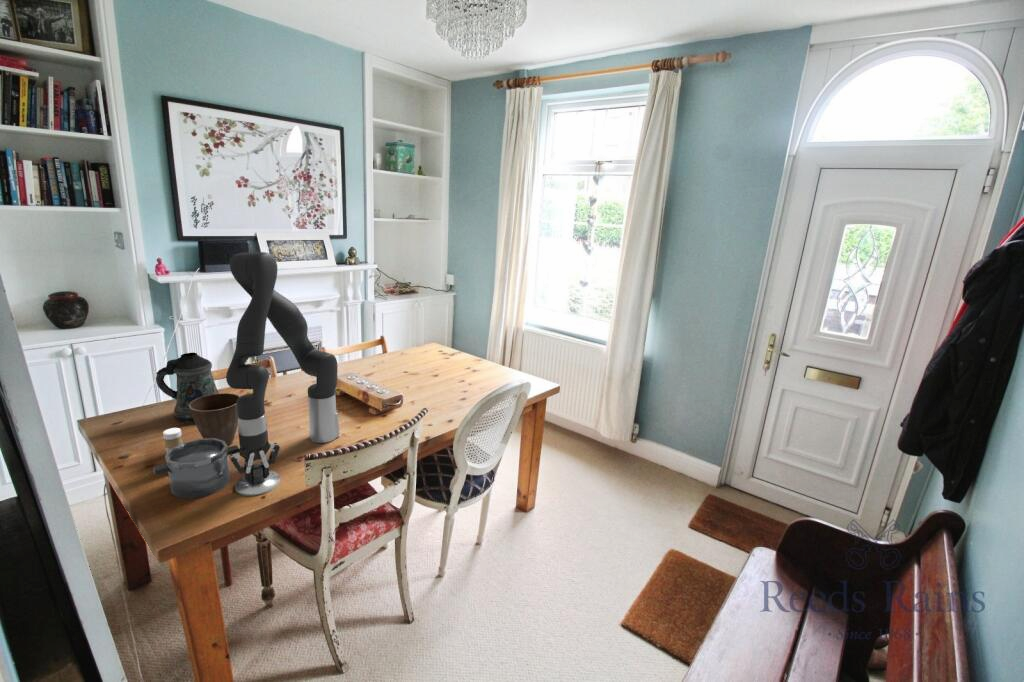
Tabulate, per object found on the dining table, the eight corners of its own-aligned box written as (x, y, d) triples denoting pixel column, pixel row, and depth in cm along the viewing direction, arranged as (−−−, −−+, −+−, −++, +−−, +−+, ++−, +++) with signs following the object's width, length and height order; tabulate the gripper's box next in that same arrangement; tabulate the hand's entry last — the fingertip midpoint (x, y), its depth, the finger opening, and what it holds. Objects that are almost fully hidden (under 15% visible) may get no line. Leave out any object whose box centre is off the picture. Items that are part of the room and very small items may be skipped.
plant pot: (183, 451, 159) (177, 407, 154) (216, 431, 173) (211, 390, 168) (224, 457, 157) (219, 413, 152) (254, 436, 171) (250, 395, 167)
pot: (234, 461, 155) (230, 431, 151) (247, 482, 144) (243, 450, 141) (154, 484, 140) (148, 450, 137) (162, 509, 130) (156, 473, 127)
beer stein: (233, 414, 186) (226, 354, 179) (178, 431, 171) (168, 366, 164) (212, 402, 195) (205, 344, 188) (158, 417, 179) (148, 355, 172)
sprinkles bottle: (184, 463, 152) (178, 425, 148) (188, 469, 149) (182, 431, 145) (167, 468, 148) (160, 430, 145) (170, 474, 145) (164, 435, 142)
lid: (274, 469, 152) (272, 452, 150) (284, 487, 143) (283, 469, 142) (231, 481, 145) (229, 463, 143) (240, 500, 136) (238, 482, 134)
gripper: (274, 418, 146) (278, 466, 151) (222, 430, 137) (228, 482, 141) (282, 427, 141) (286, 477, 146) (229, 440, 131) (234, 493, 136)
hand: (257, 479), depth 144 cm, fingers closed on lid, 3 cm apart
